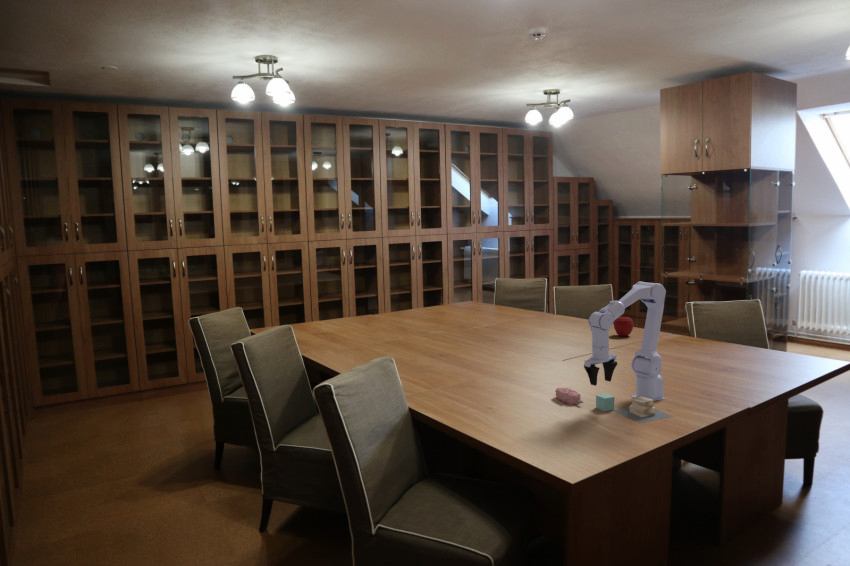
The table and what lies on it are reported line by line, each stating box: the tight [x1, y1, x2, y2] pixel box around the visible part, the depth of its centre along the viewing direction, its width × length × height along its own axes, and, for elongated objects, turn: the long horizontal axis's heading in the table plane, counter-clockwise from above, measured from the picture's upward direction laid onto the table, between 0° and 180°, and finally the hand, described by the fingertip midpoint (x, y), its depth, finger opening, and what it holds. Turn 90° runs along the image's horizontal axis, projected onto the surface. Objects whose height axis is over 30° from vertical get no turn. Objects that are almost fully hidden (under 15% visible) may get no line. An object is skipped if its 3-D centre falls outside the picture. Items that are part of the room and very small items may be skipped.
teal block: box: [595, 393, 615, 412], centre depth 213 cm, size 4×4×5 cm
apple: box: [613, 315, 635, 337], centre depth 333 cm, size 11×11×12 cm
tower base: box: [629, 404, 656, 417], centre depth 206 cm, size 6×6×2 cm
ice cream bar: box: [555, 387, 584, 405], centre depth 223 cm, size 6×4×15 cm
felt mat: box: [612, 406, 673, 424], centre depth 206 cm, size 14×14×1 cm
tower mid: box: [631, 396, 654, 410], centre depth 206 cm, size 5×5×2 cm
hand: (600, 382), depth 212 cm, fingers open, 7 cm apart
